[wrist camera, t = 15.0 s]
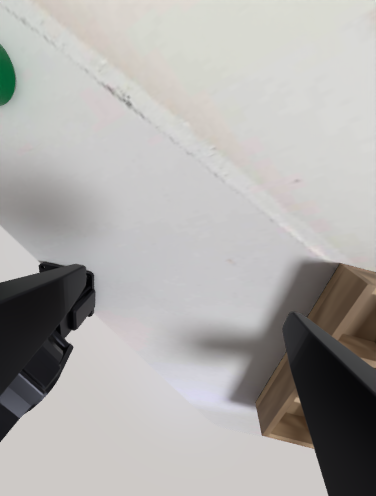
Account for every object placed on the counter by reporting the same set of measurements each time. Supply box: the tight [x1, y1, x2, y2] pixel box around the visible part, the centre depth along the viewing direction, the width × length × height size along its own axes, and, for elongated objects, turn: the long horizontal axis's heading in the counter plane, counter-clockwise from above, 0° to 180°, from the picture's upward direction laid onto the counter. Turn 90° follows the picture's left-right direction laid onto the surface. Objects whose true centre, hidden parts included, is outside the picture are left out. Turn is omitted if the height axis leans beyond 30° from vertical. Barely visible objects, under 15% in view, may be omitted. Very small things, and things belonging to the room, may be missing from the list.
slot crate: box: [256, 263, 376, 449], centre depth 24 cm, size 9×24×4 cm, turn 166°
